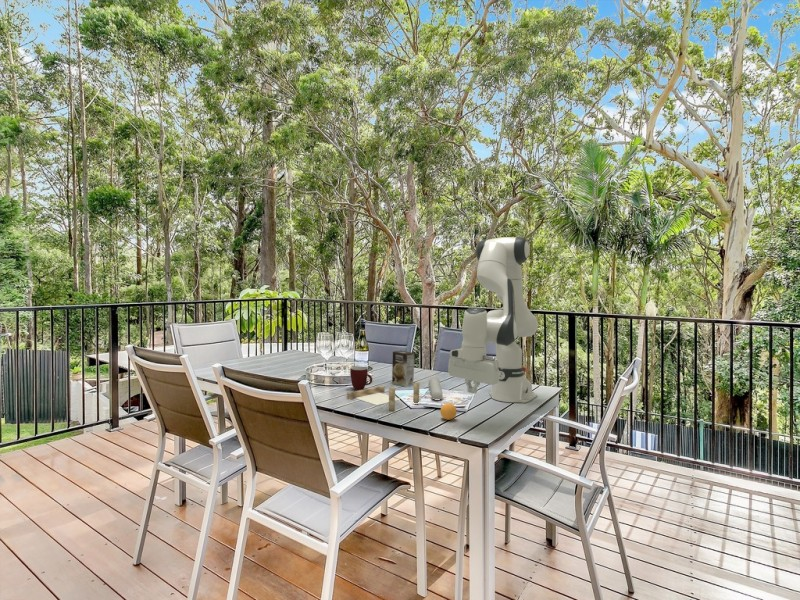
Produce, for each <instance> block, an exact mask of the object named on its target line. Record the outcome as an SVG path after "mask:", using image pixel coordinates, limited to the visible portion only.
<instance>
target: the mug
mask: <svg viewBox="0 0 800 600" xmlns="http://www.w3.org/2000/svg"><path fill="white" fill-rule="evenodd" d="M368 370H369V369H368V367H367V366H352V367H350V370H349V371H350V372H349V373H350V381H351V385H352V387H353V389H354V391H359V390H364V389H365V387H366V386H370V385H371V384H372V383H373V377H372V375H371V374H369V371H368ZM368 378H369V382H368V383H367V380H368Z"/></svg>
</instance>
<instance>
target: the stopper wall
mask: <svg viewBox="0 0 800 600" xmlns="http://www.w3.org/2000/svg"><path fill="white" fill-rule="evenodd" d="M385 389H386V387H385V386H383V385H380V386H374V387H369V388H364V389H363V390H359V391H358V390H354V391H351V392H347V393H346V399H347V400H349V399H350V400H355V399H356V398H357V397H362V396H367V395H371V394H376V393H385V392H386V390H385ZM354 398H355V399H354Z"/></svg>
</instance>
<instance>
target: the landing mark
mask: <svg viewBox="0 0 800 600" xmlns="http://www.w3.org/2000/svg"><path fill="white" fill-rule="evenodd" d="M400 399H401V398H399V397H396V396H395V402H397V401H400ZM355 400H359V401H362V402H366V403H368V404H370V405H374V406H379V405H385V404H389V394H386V393H384V392H382V393H376V394H371V395H367V396H362V397H357V398H355Z"/></svg>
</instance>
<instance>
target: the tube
mask: <svg viewBox="0 0 800 600" xmlns="http://www.w3.org/2000/svg"><path fill="white" fill-rule="evenodd" d="M440 382H441V381H440V380H439V379H438V378H437V377H431V378H430V379H429V380H428V386H429V391H431V392H430V395H431V396H432V397H431V396H430V397H431V399H432V398H434V399H441V398H442V399H443V395H444V394H443V391H442V386H441V383H440ZM442 399H441V400H442Z"/></svg>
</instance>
